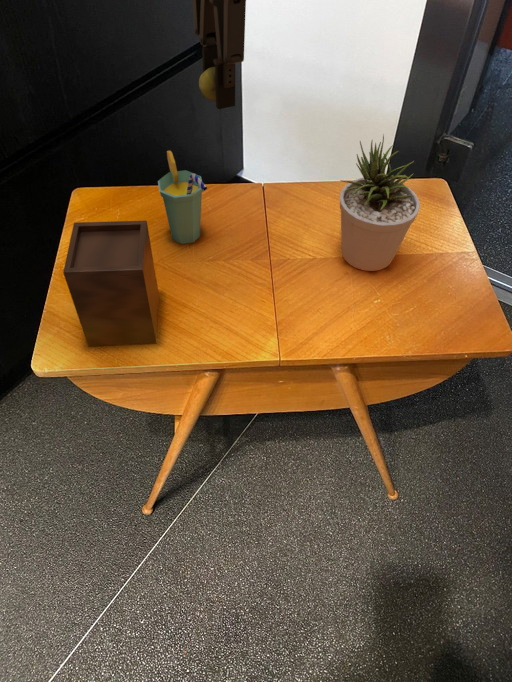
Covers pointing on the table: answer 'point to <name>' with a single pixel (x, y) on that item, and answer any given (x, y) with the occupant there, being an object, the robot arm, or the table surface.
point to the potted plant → (375, 212)
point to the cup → (182, 202)
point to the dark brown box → (113, 282)
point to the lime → (208, 84)
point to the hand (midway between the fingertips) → (219, 99)
